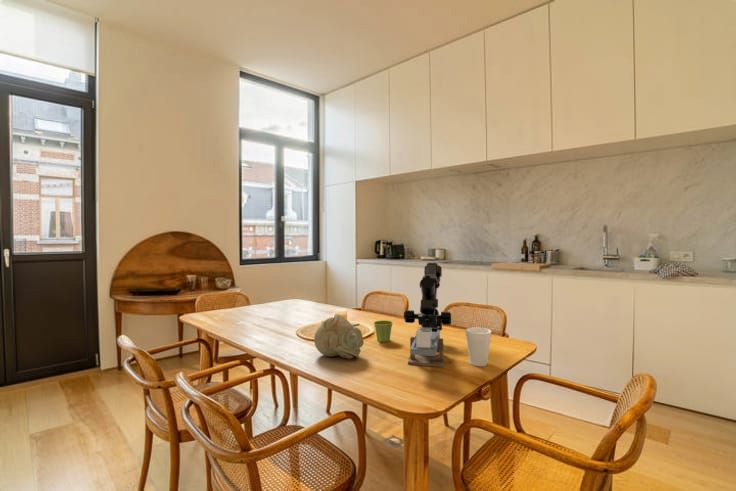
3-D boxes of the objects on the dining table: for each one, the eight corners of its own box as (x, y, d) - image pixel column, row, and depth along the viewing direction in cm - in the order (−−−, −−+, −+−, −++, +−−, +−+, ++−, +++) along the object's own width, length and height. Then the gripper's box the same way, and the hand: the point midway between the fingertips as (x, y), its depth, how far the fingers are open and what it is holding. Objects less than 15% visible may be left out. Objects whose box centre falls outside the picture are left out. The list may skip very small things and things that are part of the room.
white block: (418, 345, 137) (417, 327, 137) (431, 346, 136) (431, 327, 136) (416, 350, 132) (416, 331, 131) (430, 351, 130) (430, 332, 130)
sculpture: (313, 368, 142) (361, 350, 140) (302, 320, 151) (346, 302, 149) (330, 371, 158) (372, 355, 156) (318, 327, 167) (359, 311, 165)
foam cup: (487, 369, 137) (487, 334, 137) (463, 365, 142) (462, 331, 142) (493, 361, 145) (493, 329, 145) (470, 357, 150) (470, 326, 150)
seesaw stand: (410, 357, 151) (410, 334, 151) (445, 360, 148) (445, 336, 147) (407, 364, 143) (407, 340, 143) (444, 367, 140) (444, 342, 140)
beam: (418, 346, 159) (418, 328, 158) (439, 348, 156) (439, 329, 156) (410, 371, 131) (410, 348, 131) (435, 373, 129) (435, 350, 129)
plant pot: (370, 342, 173) (370, 324, 173) (377, 337, 182) (377, 319, 182) (389, 344, 170) (389, 325, 169) (395, 338, 178) (395, 321, 178)
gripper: (404, 290, 151) (400, 324, 140) (450, 292, 146) (450, 326, 136) (407, 305, 159) (403, 338, 148) (451, 307, 154) (450, 341, 144)
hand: (426, 336), depth 144 cm, fingers closed
